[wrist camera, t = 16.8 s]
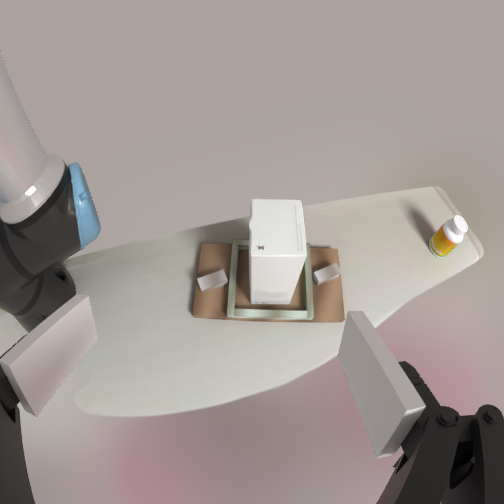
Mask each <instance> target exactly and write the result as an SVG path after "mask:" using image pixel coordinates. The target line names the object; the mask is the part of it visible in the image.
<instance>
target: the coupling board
mask: <svg viewBox="0 0 504 504" xmlns="http://www.w3.org/2000/svg"><path fill="white" fill-rule="evenodd" d="M306 249H307V256H306V259H305V262H304V265H303V268H302V271H301V273H300V276H299V279H298V282H297V285H296V287H295V290H294V293H293V296H292V299H291V301H290V304H251V303H250V279H249V240H233V244H219V243H202V246H201V252H200V259H199V266H198V274H197V281H196V289H195V297H194V305H193V314H192V315H193V317H195V318H208V319H223V320H241V321H265V322H342V321H344V320H345V318H344V305H343V294H342V283H341V274H340V273H341V270H340V265H339V256H338V249H330V248H310V243H306Z"/></svg>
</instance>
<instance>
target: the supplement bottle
mask: <svg viewBox="0 0 504 504" xmlns="http://www.w3.org/2000/svg"><path fill="white" fill-rule="evenodd" d="M467 229H468V227H467V223H466V222H465V220H464V219H463V218H462V217H461V216H459V215H455V216H454V217H453V218H452V219H451V220H447V221H446V222H445V223H444V224H443V225H442V226H441V227H440V228H439V230H438V231H437V232H436V233H435V234H434V235H433V236H432V237H431V239H430V240H429V247H430V250H431V252H432V253H433V254H434V255H435V256H436V257H438V258H444V257H445V256H446V255H447V254H449V253H450V252H451V251H452V250H453V249H454V248H455V247H456V246H457V245H458V244H459V243H460V242H461V241H462V239H463V234H464V233H465V232H466V231H467Z"/></svg>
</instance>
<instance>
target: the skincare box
mask: <svg viewBox="0 0 504 504" xmlns="http://www.w3.org/2000/svg"><path fill="white" fill-rule="evenodd" d="M306 256H307V249H306V238H305V228H304V218H303V210H302V203H301V200H278V199H277V200H276V199H251V209H250V222H249V279H250V303H251V304H290V301H291V299H292V296H293V293H294V290H295V287H296V285H297V282H298V279H299V276H300V273H301V271H302V268H303V265H304V262H305V259H306Z"/></svg>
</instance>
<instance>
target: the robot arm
mask: <svg viewBox="0 0 504 504" xmlns="http://www.w3.org/2000/svg"><path fill="white" fill-rule="evenodd" d="M99 233H100V222H99V219H98V215H97V212H96V209H95V206H94V203H93V200H92V197H91V194H90V191H89V188H88V186H87V183H86V180H85V177H84V174H83V172H82V169H81V167H80V166H79V164H78V163H73V164H69V166H68V167H67V166H66V164H65V162H64V161H63V159H62V158H61V156H59V155H56V154H46V152H45V150H44V148H43V147H42V145H41V143H40V141H39V139H38V137H37V135H36V133H35V131H34V130H33V128H32V126H31V124H30V122H29V120H28V117H27V115H26V113H25V111H24V109H23V107H22V105H21V103H20V100H19V98H18V96H17V94H16V91H15V89H14V87H13V84H12V81H11V79H10V77H9V74H8V71H7V68H6V66H5V63H4V60H3V57H2V55H1V51H0V308H1V309H3V310H5V311H7V312H8V313H10V314H12V315H14V317H15V318H16V319H17V320H18V322H19V323H20V324H21V325H22V326H23V327H24V329H25V330H26V331H27V332H29V334H27V335H25V336H23V337H22V338H21V339H20V340H19V341H18V342H17V343H16V344H14V345H13V346H12V348H10V349H9V350H7V351H6V352H5V353H4V354H3V355H2V356H1V357H0V504H35V501H34V498H33V494H32V491H31V486H30V482H29V478H28V473H27V468H26V463H25V458H24V452H23V451H24V450H23V444H22V435H21V425H20V411H19V408H18V407H17V404H18V403H19V401H20V402H21V404H22V406H23V408H24V409H25V410H26V411H27V412H28V413H31V414H32V415H34V416H36V417H37V416H38V415H39V413H40V412H41V411H42V409H43V408H44V407H45V405H46V404H47V403H48V401H49V400H50V398H51V397H52V396H53V394H54V393H55V392H56V391H57V389H58V388H59V387H60V386H61V384H62V383H63V382H64V380H65V379H66V378H67V377H68V375H69V374H70V373H71V372H72V370H73V369H74V368H75V367H76V365H77V364H78V363H79V362H80V360H81V359H82V358H83V357H84V356H85V354H86V353H87V352H88V351H89V350H90V348H91V347H92V346H93V345H94V344H95V342H96V341H97V340H98V336H97V332H96V328H95V324H94V319H93V315H92V310H91V305H90V300H89V295H84V294H77V295H76V291H75V285H74V282H73V280H72V278H71V276H70V275H69V274H68V273H67V272H66V271H65V270H64V269H63V268H61V267H60V266H58V265H57V264H59V263H60V262H62V261H64V260H65V259H67V258H68V257H70V256H72V255H73V254H75V253H76V252H78V251H80V250H82V249H83V248H84V247H85V246H86V245H88V244H89V243H90V242H92V241H93V240H94V239H96V238H97V237H98V235H99ZM338 359H339V362H340V364H341V367H342V369H343V372H344V374H345V376H346V379H347V382H348V384H349V387H350V389H351V392H352V394H353V397H354V399H355V402H356V404H357V407H358V409H359V412H360V415H361V418H362V420H363V423H364V426H365V428H366V431H367V434H368V436H369V439H370V442H371V445H372V448H373V450H374V453H375V456H376V458H381V457H385V456H389V455H393V454H395V453H396V451H397V450H398V449H399V447H400V446H402V449H403V451H404V453H403V454H402V456H401V457H400V458H399V460H398V461H397V462H396V463H395V465H394V466H393V467H394V468H395V467H396V468H395V470H394V472H393V474H392V476H391V478H390V480H389V482H388V484H387V486H386V487H385V489H384V491H383V493H382V495H381V496H380V498H379V500H378V502H377V503H376V504H440V503H441V504H504V418H503V415H502V413H501V411H500V410H499V409H498V408H497V407H495V406H493V405H483V406H481V407H480V408H479V409H478V411H477V413H476V414H475V415H469V416H468V415H467V416H460V415H459V413H458V412H457V411H455V410H454V409H452V408H450V407H446V406H440V404H439V403H438V401H437V400H436V398H435V397H434V395H433V394H432V392H431V391H430V389H429V388H428V387H427V385H426V384H424V381H423V379H422V378H421V377H420V375H419V374H418V372H417V371H416V369H415V368H414V367H413V366H411V365H410V364H409V363H407V362H405V361H403V362H397V360H396V359H395V357H394V356H393V354H392V353H391V351H390V350H389V348H388V347H387V345H386V344H385V342H384V341H383V340H382V338H381V337H380V335H379V334H378V332H377V331H376V330H375V328H374V327H373V325H372V324H371V322H370V321H369V320H368V318H367V317H366V315H365V314H364V313H363V311H348V313H347V318H346V323H345V327H344V332H343V336H342V340H341V345H340V349H339V353H338ZM441 500H442V501H441Z"/></svg>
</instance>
